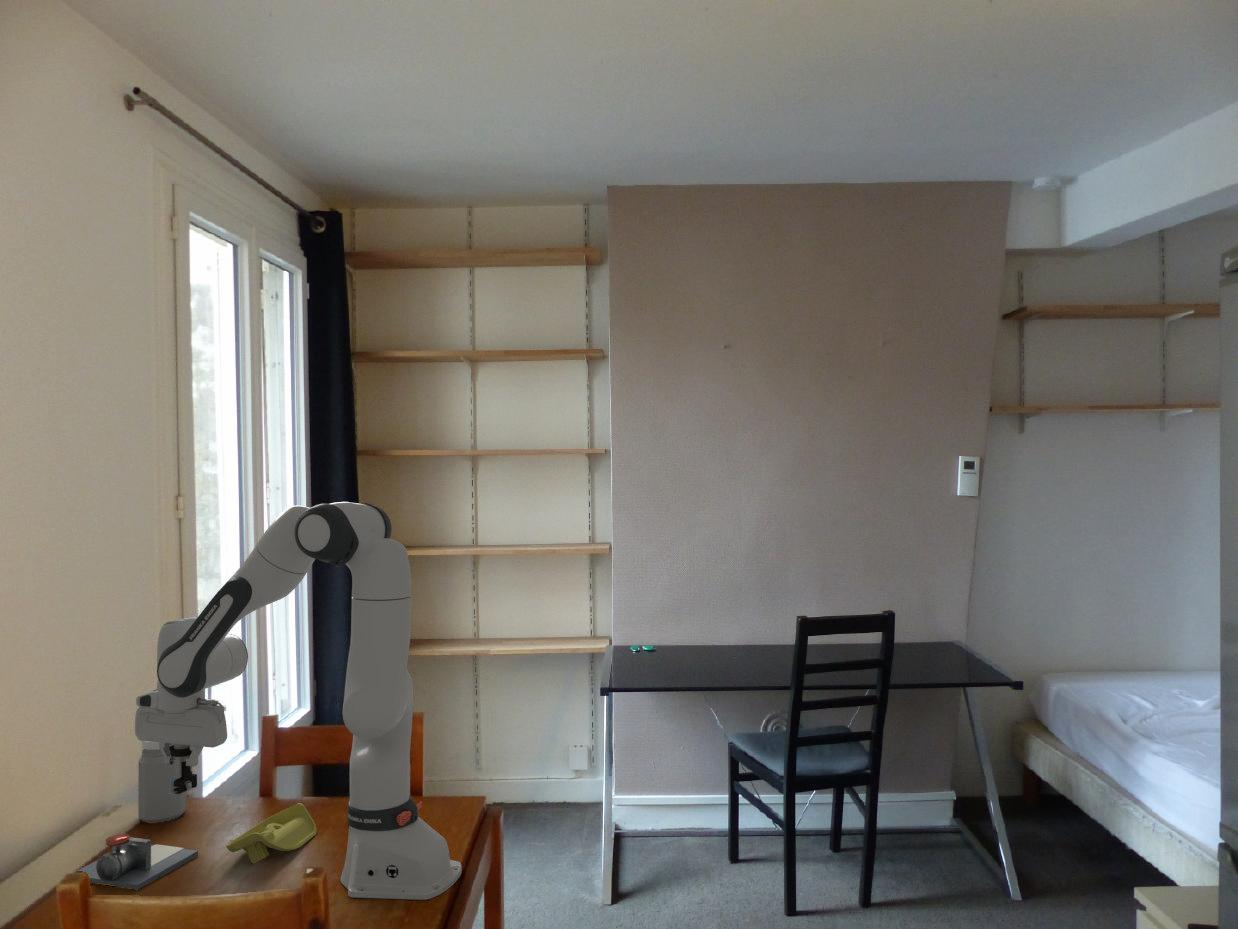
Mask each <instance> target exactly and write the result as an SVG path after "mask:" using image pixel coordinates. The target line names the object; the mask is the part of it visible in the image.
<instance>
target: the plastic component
mask: <svg viewBox="0 0 1238 929" xmlns="http://www.w3.org/2000/svg"><path fill="white" fill-rule="evenodd" d="M317 832H318V830H317V825H316V823H315V820H314V819H313V817H312V815H311V814H310V812H309V810H308V809H307V808H306V806H305V804H303V803H302V802H298V803H295V804H293V805H292V806H290V807H288V808H286V809H283V810H281V811H280V812H277V813H275V814H273V815H271V816H269V817H268V818H266V819H264V820H262V821H261V822H259V823H258V824H256V825H255V826H252V827H251V828H250V829H248V830H247V831H245V832H244V833H242V834H241V835H239V836H237V837H236V838H235V839H233V840H232V841H230V842H229V843H227V844H226V845H225V847H226V849H227V850H228V851H229V852H230V853H236V852H238V851H241V850H243V851H245V852H246V854H247V857H248V859H249V861H250V863H253V864H252V865H254V864H257V863H258V862H260V861H261V860H263V859H265V858H267V857H268V856H270V854H269V853H270V852H269V851H268V849H267V847H268V848H271V849H274V850H277V851H283V852H291V851H294V850H297V849H298V848H301V847H302V846H303V845H305V844H306V843H307V842H309V841H310V840H311V839H312V838H313V837H315V836H316V835H317Z"/></svg>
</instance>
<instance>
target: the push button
mask: <svg viewBox="0 0 1238 929" xmlns="http://www.w3.org/2000/svg"><path fill="white" fill-rule="evenodd" d="M169 750H170V755H171V756H174V757H175V759H176V774H175V779H174V780H172V787H171V788H169V789H168V790H172V792H171V794H173V793H175V794H181V793H183V792H185V791H186V792H187V791H191V790H192V789H195V788H197V787H198V774H196V773H193V767H188V766H186V758H188V757H190V755H191V753H192V751H191V750H190V745H181V744H174V745H172V746H170V747H169ZM168 794H169V795H171V794H170V793H168Z"/></svg>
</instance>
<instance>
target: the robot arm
mask: <svg viewBox="0 0 1238 929" xmlns="http://www.w3.org/2000/svg"><path fill="white" fill-rule="evenodd" d="M392 528H393V527H392V522H391V519H390V517H389V515H388V514H387V513H386V511H385V510H383V509H382V508H381V507H379V506H376V505H374V504H371V503H367V502H365V503H364V502H362V503H361V502H360V503H357V502H349V501H341V502H340V501H339V502H332V503H319V504H316V505H314V506H311V507H309V506H305V505H292V506H289V507H286V509H284V510H283V511H282V512H280V514H279V515H278V516H277V517H276V518H275V519H274V520H273V522H272V523H271V524H270V525H269V526H268V527H267V529H266V530H265V531H264V533H263V535H262V536H261V537H260V539H259V540H258V542H257V543H256V545H255V546H254V548H253V549H252V551H251V552H250V553H249V555H248V557H247V558H246V559H245V561H244V562H243V563H242V564H241V565H240V566H239V568H238V569H237V570H236V571H235V572H234V574H233V575H232V576H231V577H230V578H229V579H228V580H227V581H226V582H225V584H224V585H223V586H222V587H221V588H220V589H219V590H217V592H216V593H215V594H214V596H213V597H212V598H211V600H209V602H208V603H207V605H206V606H205V607H204V609H203V610H202V611H201V612H200V613H199V615H198V616H190V617H184V618H181V619H180V618H179V619H175V620H170V621H169V620H168V621H166V622H165V623H164V624H163V625H162V626H161V627H160V630H159V633H158V639H157V647H156V664H157V666H156V676H157V681H156V689H154V690H153V691H152V690H151V691H149V692H146V693H143V694H141V695H138V696H137V697H136V698H135V699H136V700H135V704H136V706H137V707H138V708H137V710H136V711H135V715H134V716H135V719H134V735H135V736H136V738H137V739H138V740H139V741H141V742H142V741H150V742H159V748H160V750H161V752H162V754H163V756H164V764H170V765H172V764H174V763H176V759H175V757H174V756H171V755H170V750H169V747H170V745H172V744H181V745H190V750H191V751H192V753H191V755H190V757H188V758H186V766H188V767H192V768H194V767H196V766H198V765H199V756H200V754H201V753H202V751H203V749H204V748H216V747H219V746H221V745H223V744H225V742H226V741H227V739H228V728H227V719H226V714H225V707H224V705H223V704H222V703H221V702H220V701H219V700H217V699H214V698H213V699H208V698H206V689H208V688H212V687H215V686H218V685H221V684H222V683H226V682H229V681H231V680H234V679H235V678H237V677H239V676H241V675H242V674H243V672H245V670H246V668H247V665H248V661H249V653H248V649H247V645H246V643H244V641H243V640H242V638H240V637H239V636H238V635H235V634H232V633H230V631H231V630H232V629H233V627H234V626H235V625H236V624H237V623H238V622H240V621H241V620H242V619H243V618H244V617H247V616H248V615H249V614H251V613H253V612H255V611H257V610H259V609H260V608H263V607H265V606H267V605H271V604H273V603H276V602H278V601H280V600H282V599H284V598H286V597H287V596H289V595H290V594H291V593H292V592H294V590H295V589H296V588H297V587H298V586H299V584H300V583H301V582H302V580H303V579H304V578H305V577H306V575H307V573H308V572H309V570H310V568H311V567H312V565H313V563H314V562H315V560H317V561H320V562H324V563H327V564H328V565H329V564H330V565H332V566H335V567H336V568H339V567H342V566H346V567H347V568H348V569H349V570H350V573H351V578H352V580H351V581H352V583H351V584H352V585H351V587H352V588H351V611H350V614H351V615H350V616H351V617H350V620H351V621H350V622H351V624H350V625H351V626H350V642H349V643H350V645H349V649H348V657H347V665H346V673H345V681H344V683H345V684H344V691H343V692H344V694H343V702H342V703H343V704H342V705H343V706H342V720H343V723H344V725H345V727H346V729H347V730H348V731H349V732H350V733H351V734H352V737H353V738H352V743H351V744H352V745H351V752H350V758H349V801H348V802H347V811H346V812H347V813H346V816H347V820H346V822H347V827H348V838H347V846H346V847H347V848H346V854H345V861H344V864H343V868H342V872H341V876H340V882H341V884H342V885H343V886H344V887H345V888H346V889H347V895H348V897H350V898H357V899H359V898H363V899H387V900H388V899H392V900H393V899H395V900H424V901H425V900H430V899H433V898H435V897H437V896H440V895H441V894H442V893H445V891H447V890H449V888H451V887H452V886H453V885H454V884H455V883H456V882H457V881H458V880H459V879H460V877H461V875H462V873H463V872H462V871H463V868H462V864H461V862H460V861H456V860H453V859H451V858H450V856H451V855H450V851H449V846H448V842H447V840H446V839H445V837H444V836H442V835H441V834H440V833H438V831H436V830H435V829H434V828H432V827H431V826H430V825H429V824H428V823H427V822H426V821H424V820H423V819H422V818H421V817H419V812H418V811H419V810H420V809H421V808H422V807H423V805H422V804H423V801H421V800H420V801H419V802H418V803H415V801H414V799H413V797H412V794H411V793H410V792H411V790H410V789H411V786H410V785H411V784H410V783H411V781H410V778H411V776H410V775H411V773H410V772H411V763H410V761H411V742H412V731H413V730H412V729H413V726H412V725H413V710H414V681H413V678H412V676H411V674H410V672H409V670H408V662H409V652H410V645H411V644H410V643H411V636H412V634H411V633H412V632H411V630H412V628H411V627H412V574H411V566H410V559H409V554H408V550H407V548H406V546H405V545H404V544H403V543H401V542H400V541H397V540H395V539H392V538H391V537H392V536H391V535H392V530H393V529H392Z"/></svg>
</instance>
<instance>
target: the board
mask: <svg viewBox="0 0 1238 929" xmlns="http://www.w3.org/2000/svg"><path fill="white" fill-rule="evenodd" d="M196 856H197V857H198V856H199V850H196V849H195V850H194V849H187V848H184V847H181V846H171V845H165V844H151V869H149V870H147V871H142V870H135V869H130V870H128V871H127V872H125V873H123V874H121V875H120V876H119V877H118V878H117V879H115V880H113V881H111V882H108V881H107V880H102V879H101V878H100V877H99V876H98V874H97V870H96V864H97V861H98V859H97V860H95V861H92V863H89V864H87V865H86V866H82V867H81V868H79V869H77V870H75V871H74V872H76V871H83V872H86V873H87V874H88V876H89V878H90V882H91V883H90V884H91V885H93V884H92V883H100V884H101V883H102V884H110V885H114V886H118V887H124V888H131V889H139V888H141V887H142V886H144V885H146V884H147V883H150V884H151V883H153V882H155V881H157V880H158V879H160V878H162V877H164V876H165V875H167V874H169V873H171V872H172V871H174V870H176V869H177V868H180V867H181V866H183V865H184V864H186V863H188V862H189V861H192V860H193V859H195V858H197V857H196ZM191 859H192V860H191ZM159 877H160V878H159ZM157 878H158V879H157ZM156 879H157V880H156ZM154 880H155V881H154ZM152 881H153V882H152ZM146 886H147V885H146ZM118 887H117V888H118ZM144 887H145V886H144ZM124 888H123V889H124ZM131 889H130V890H131ZM141 889H142V888H141ZM139 890H140V889H139Z"/></svg>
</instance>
